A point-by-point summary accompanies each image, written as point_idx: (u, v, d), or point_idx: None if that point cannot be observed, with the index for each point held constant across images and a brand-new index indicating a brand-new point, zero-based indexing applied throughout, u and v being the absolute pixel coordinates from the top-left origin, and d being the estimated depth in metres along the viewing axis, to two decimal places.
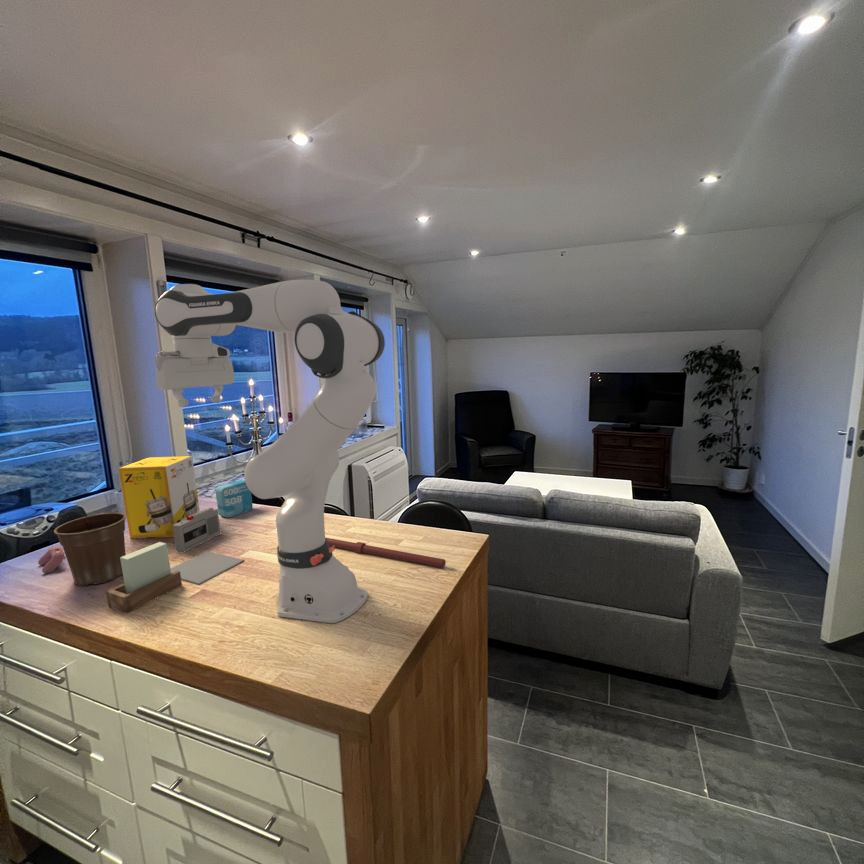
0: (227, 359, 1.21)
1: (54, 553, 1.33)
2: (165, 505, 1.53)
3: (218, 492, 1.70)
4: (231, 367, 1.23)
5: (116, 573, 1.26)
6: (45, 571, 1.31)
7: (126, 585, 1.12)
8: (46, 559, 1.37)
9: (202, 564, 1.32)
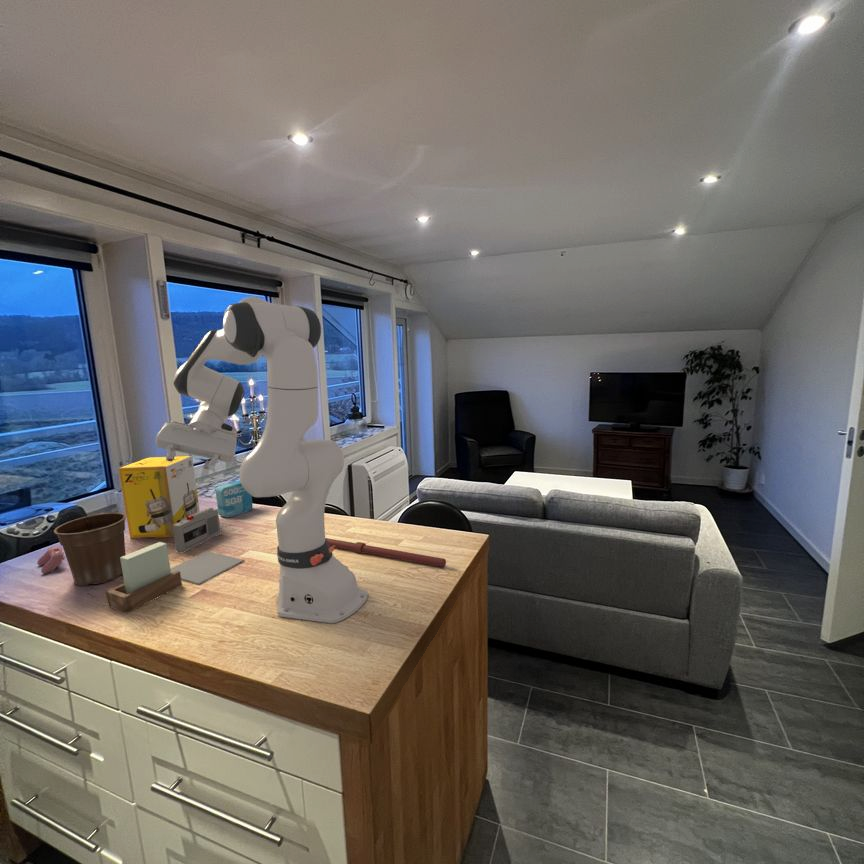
0: (231, 435, 1.30)
1: (53, 553, 1.33)
2: (165, 505, 1.53)
3: (218, 492, 1.70)
4: (233, 442, 1.29)
5: (116, 573, 1.26)
6: (44, 571, 1.31)
7: (126, 585, 1.12)
8: (45, 559, 1.37)
9: (202, 564, 1.32)
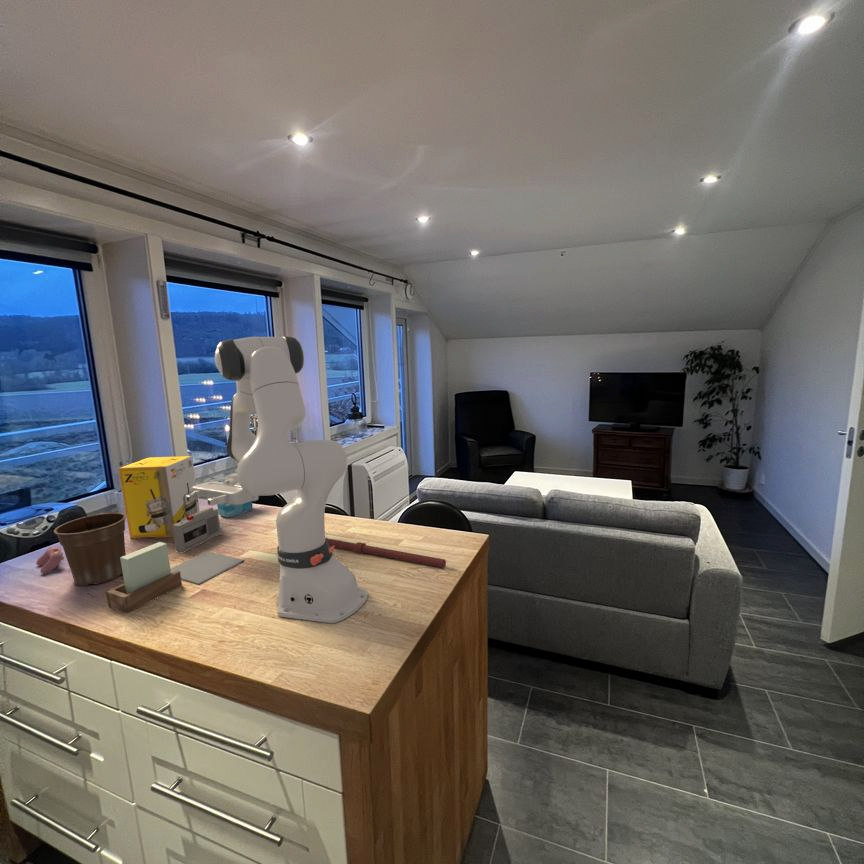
0: None
1: (52, 554, 1.33)
2: (165, 505, 1.53)
3: None
4: None
5: (116, 573, 1.26)
6: (43, 572, 1.31)
7: (126, 585, 1.12)
8: (44, 560, 1.37)
9: (202, 564, 1.32)
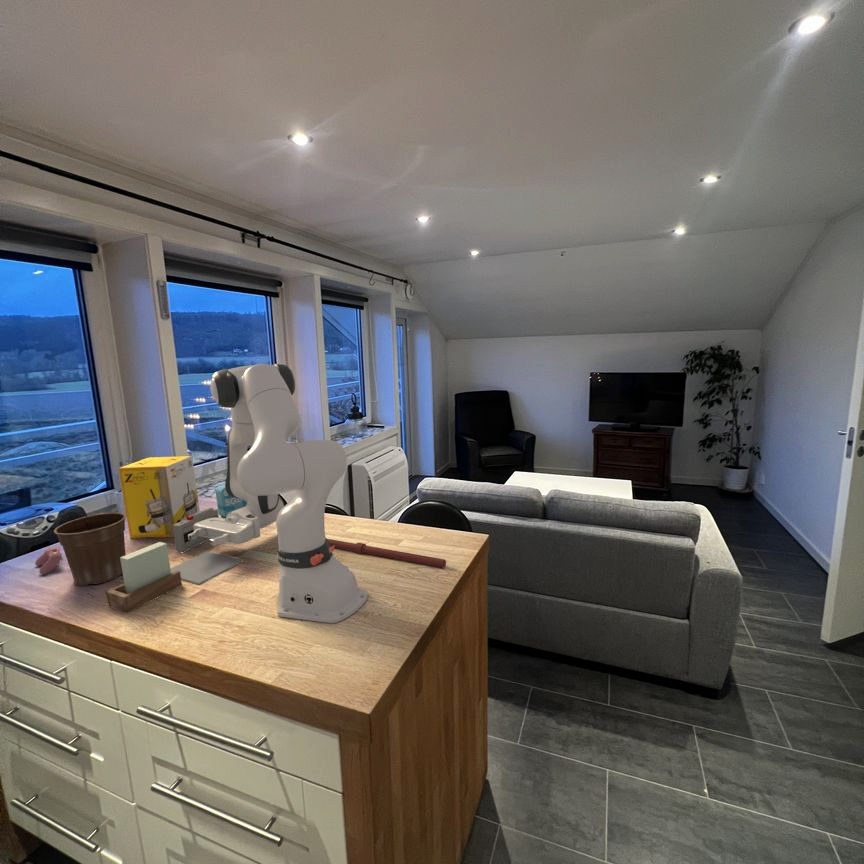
0: (250, 521, 1.36)
1: (51, 554, 1.33)
2: (165, 505, 1.53)
3: (218, 492, 1.70)
4: (247, 525, 1.33)
5: (116, 573, 1.26)
6: (42, 572, 1.30)
7: (126, 585, 1.12)
8: (43, 560, 1.37)
9: (202, 564, 1.32)
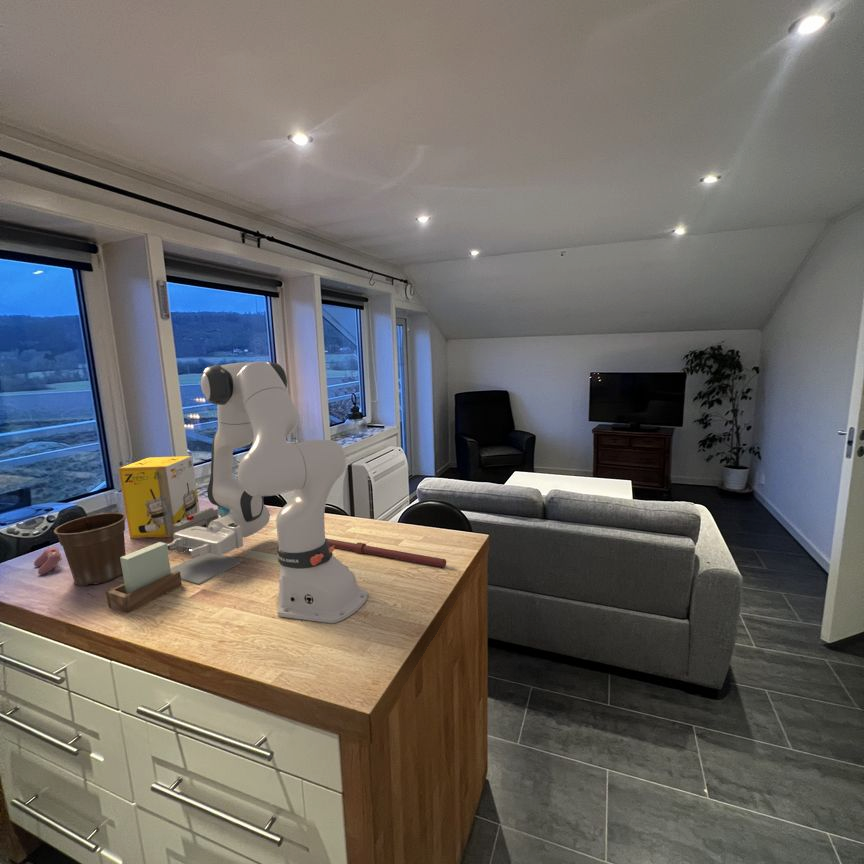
0: (232, 530, 1.30)
1: (50, 554, 1.32)
2: (165, 505, 1.53)
3: None
4: (228, 535, 1.27)
5: (116, 573, 1.26)
6: (41, 572, 1.30)
7: (126, 585, 1.12)
8: (42, 560, 1.36)
9: (202, 564, 1.32)
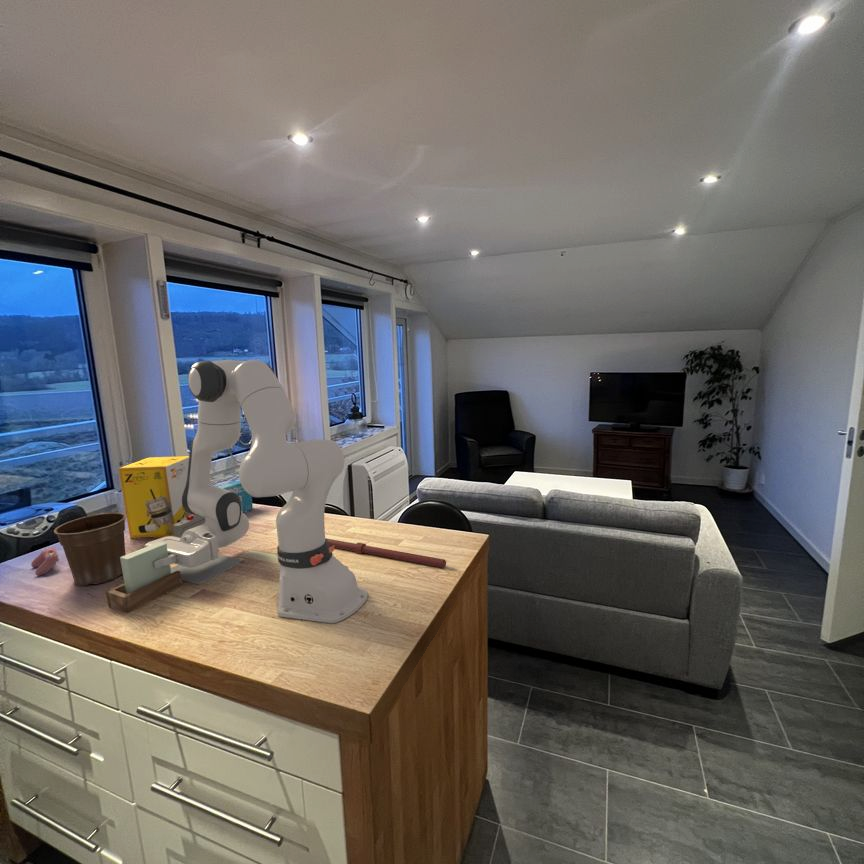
0: (206, 541, 1.23)
1: (47, 555, 1.32)
2: (165, 505, 1.53)
3: None
4: (202, 546, 1.20)
5: (116, 573, 1.26)
6: (38, 573, 1.30)
7: (126, 585, 1.12)
8: (39, 561, 1.36)
9: (202, 564, 1.32)
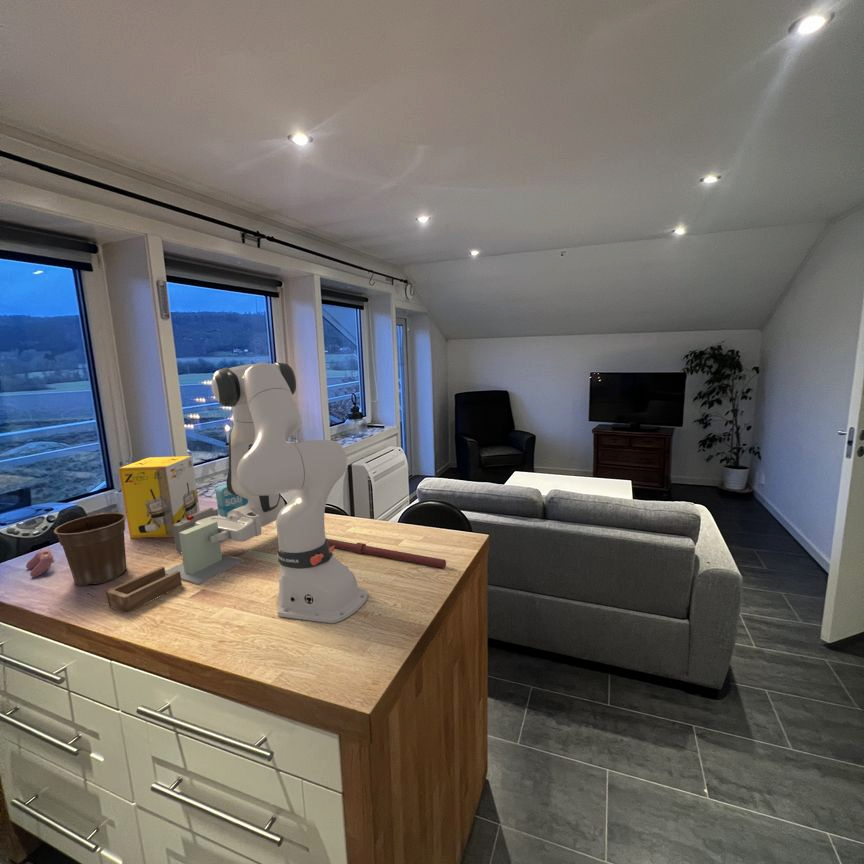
0: (251, 519, 1.36)
1: (42, 556, 1.31)
2: (165, 505, 1.53)
3: (218, 492, 1.70)
4: (248, 523, 1.34)
5: (116, 573, 1.26)
6: (33, 575, 1.29)
7: (184, 557, 1.26)
8: (34, 563, 1.35)
9: None
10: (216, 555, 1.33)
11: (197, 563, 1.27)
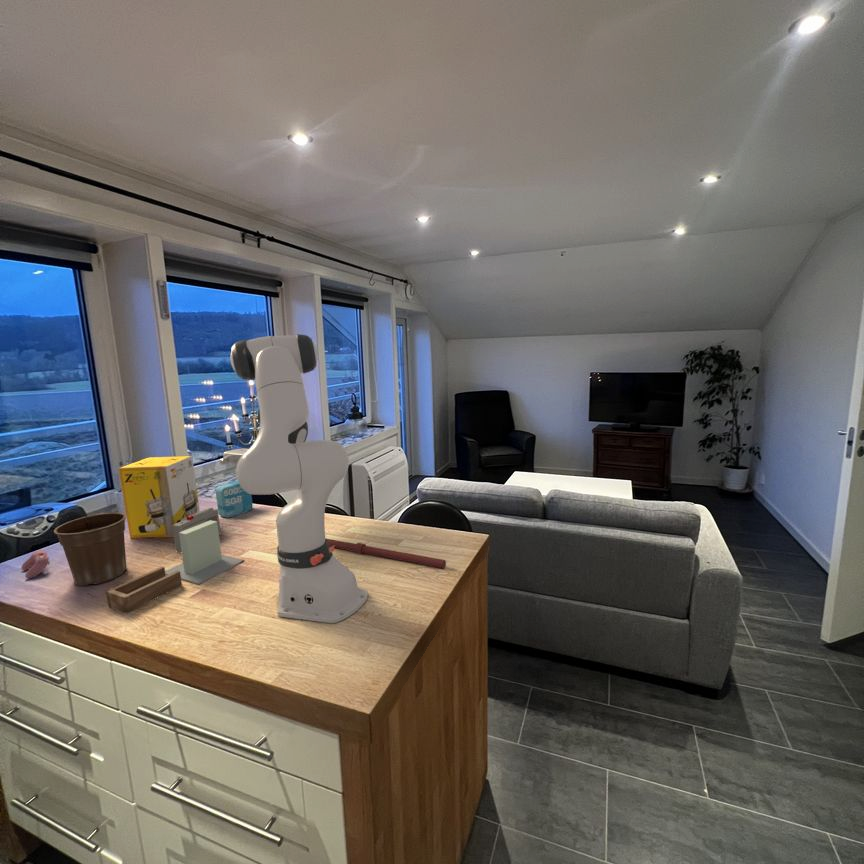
0: None
1: (38, 558, 1.30)
2: (165, 505, 1.53)
3: (218, 492, 1.70)
4: None
5: (116, 573, 1.26)
6: (28, 576, 1.28)
7: (184, 557, 1.26)
8: (29, 564, 1.34)
9: None
10: (216, 555, 1.33)
11: (197, 563, 1.27)
